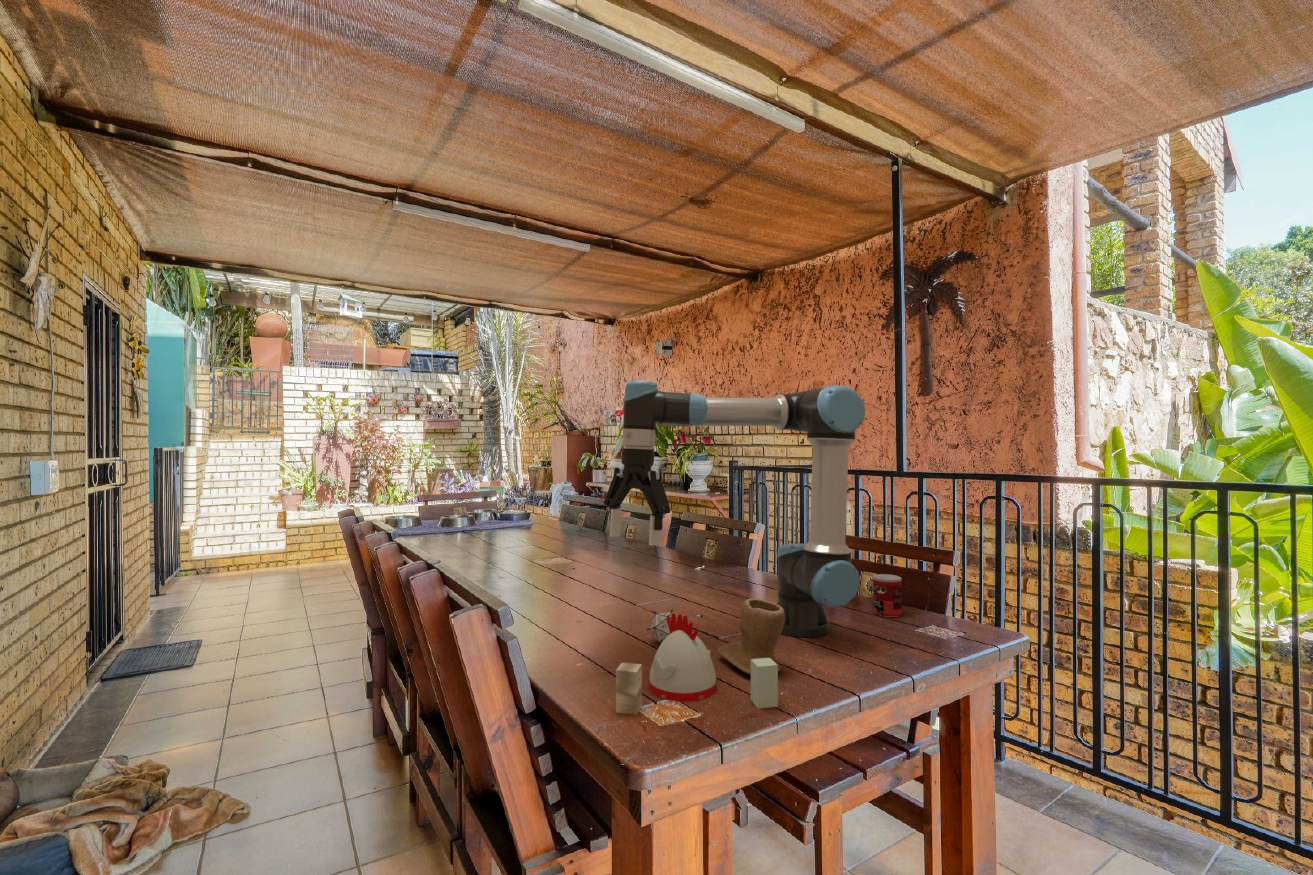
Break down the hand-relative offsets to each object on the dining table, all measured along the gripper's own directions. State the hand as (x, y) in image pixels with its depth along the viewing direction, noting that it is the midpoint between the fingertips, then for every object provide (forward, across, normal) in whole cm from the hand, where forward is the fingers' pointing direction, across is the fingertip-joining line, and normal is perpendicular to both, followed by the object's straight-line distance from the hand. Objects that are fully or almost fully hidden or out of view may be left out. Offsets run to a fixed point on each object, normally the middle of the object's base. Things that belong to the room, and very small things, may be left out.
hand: (634, 540), depth 137 cm
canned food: (+24, +23, +80) cm, 87 cm away
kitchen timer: (+28, +17, 0) cm, 33 cm away
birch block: (+29, +17, -15) cm, 37 cm away
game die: (+28, -5, +16) cm, 33 cm away
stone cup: (+27, +21, +20) cm, 40 cm away
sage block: (+27, +34, +6) cm, 44 cm away
